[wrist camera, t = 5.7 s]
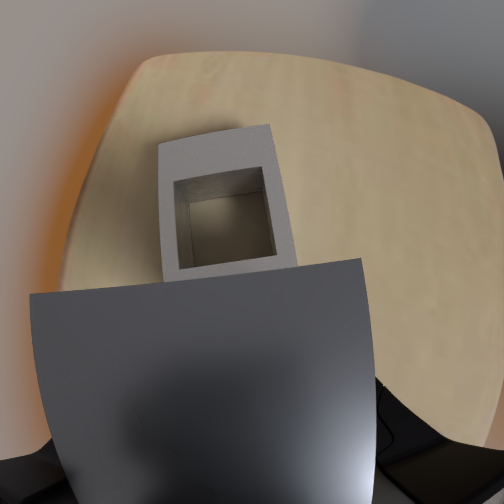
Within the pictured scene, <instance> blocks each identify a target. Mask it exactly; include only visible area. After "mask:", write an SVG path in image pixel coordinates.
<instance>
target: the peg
mask: <svg viewBox="0 0 504 504" xmlns="http://www.w3.org/2000/svg"><path fill="white" fill-rule="evenodd" d="M30 320H31V333H32V344H33V352H34V359H35V366H36V372H37V378H38V384H39V389H40V394H41V398H42V403H43V407H44V411H45V414H46V418H47V422H48V426H49V429H50V432H51V436H52V439H53V442H54V445H55V448H56V451H57V454H58V456H59V459H60V462H61V464H62V467H63V469H64V472H65V474H66V477H67V479H68V481H69V484H70V486H71V488H72V490H73V492H74V494H75V496H76V499H77V501H78V503H79V504H371V503H372V494H373V484H374V472H375V455H376V386H375V367H374V353H373V342H372V332H371V322H370V314H369V306H368V299H367V292H366V285H365V279H364V272H363V267H362V261H361V258H358V259H351V260H344V261H336V262H329V263H322V264H314V265H307V266H299V267H291V268H283V269H276V270H268V271H259V272H251V273H243V274H234V275H226V276H217V277H208V278H199V279H190V280H181V281H171V282H161V283H152V284H142V285H131V286H121V287H110V288H99V289H87V290H75V291H63V292H50V293H37V294H30Z"/></svg>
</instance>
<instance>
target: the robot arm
mask: <svg viewBox="0 0 504 504" xmlns="http://www.w3.org/2000/svg"><path fill="white" fill-rule="evenodd" d="M375 386H376V455H375V472H374V484H373V494H372V503H371V504H504V450H496V449H489V448H484V447H479V446H474V445H469V444H464V443H460V442H456V441H453V440H450V439H448V438H446V437H444V436H443V435H441V434H440V433H438V432H437V431H436V430H435V429H433V428H432V427H431V426H429V425H428V424H427V423H426V422H424V421H423V420H422V419H420V418H419V417H418V416H417V415H415V414H414V413H413V412H412V411H411V410H409V409H408V408H407V407H406V406H405V405H403V404H402V403H401V402H400V401H399V400H398V399H397V398H396V397H395V396H394V395H393V394H392V393H391V392H390V391H389V390H388V389H387V388H386V387H385V386H383V384H382V383H381V382H380V381H379V380H378V379H377V378H376V377H375ZM0 504H79V503H78V501H77V499H76V496H75V494H74V492H73V490H72V488H71V486H70V484H69V481H68V479H67V477H66V474H65V472H64V469H63V467H62V464H61V462H60V459H59V456H58V454H57V451H56V448H55V445H54V442H53V439H52V438H51V439H50V440H49V441H48V442H47V443H46V444H45V445H44V446H43V447H42V448H41V449H39V450H38V451H36V452H35V453H32V454H29V455H25V456H20V457H15V458H10V459H5V460H0Z"/></svg>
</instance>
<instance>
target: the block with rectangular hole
mask: <svg viewBox="0 0 504 504" xmlns="http://www.w3.org/2000/svg"><path fill="white" fill-rule="evenodd" d="M259 191H262V192H263V198H264V203H265V209H266V215H267V221H268V227H269V233H270V239H271V246H272V252H273V256H268V257H262V258H255V259H248V260H241V261H235V262H228V263H221V264H214V265H207V266H201V267H194V259H193V249H192V239H191V227H190V215H189V203H192V202H197V201H203V200H209V199H215V198H221V197H227V196H233V195H239V194H246V193H252V192H259ZM158 201H159V227H160V245H161V259H162V271H163V282H171V281H181V280H190V279H199V278H208V277H217V276H226V275H234V274H243V273H251V272H259V271H268V270H276V269H283V268H291V267H298V264H297V258H296V252H295V247H294V241H293V235H292V230H291V225H290V219H289V214H288V209H287V204H286V199H285V194H284V189H283V184H282V179H281V174H280V169H279V165H278V160H277V155H276V151H275V146H274V142H273V137H272V133H271V129H270V124H265V125H257V126H249V127H242V128H235V129H229V130H223V131H217V132H212V133H206V134H201V135H196V136H191V137H186V138H182V139H177V140H173V141H168V142H164V143H160V144H158Z"/></svg>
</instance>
